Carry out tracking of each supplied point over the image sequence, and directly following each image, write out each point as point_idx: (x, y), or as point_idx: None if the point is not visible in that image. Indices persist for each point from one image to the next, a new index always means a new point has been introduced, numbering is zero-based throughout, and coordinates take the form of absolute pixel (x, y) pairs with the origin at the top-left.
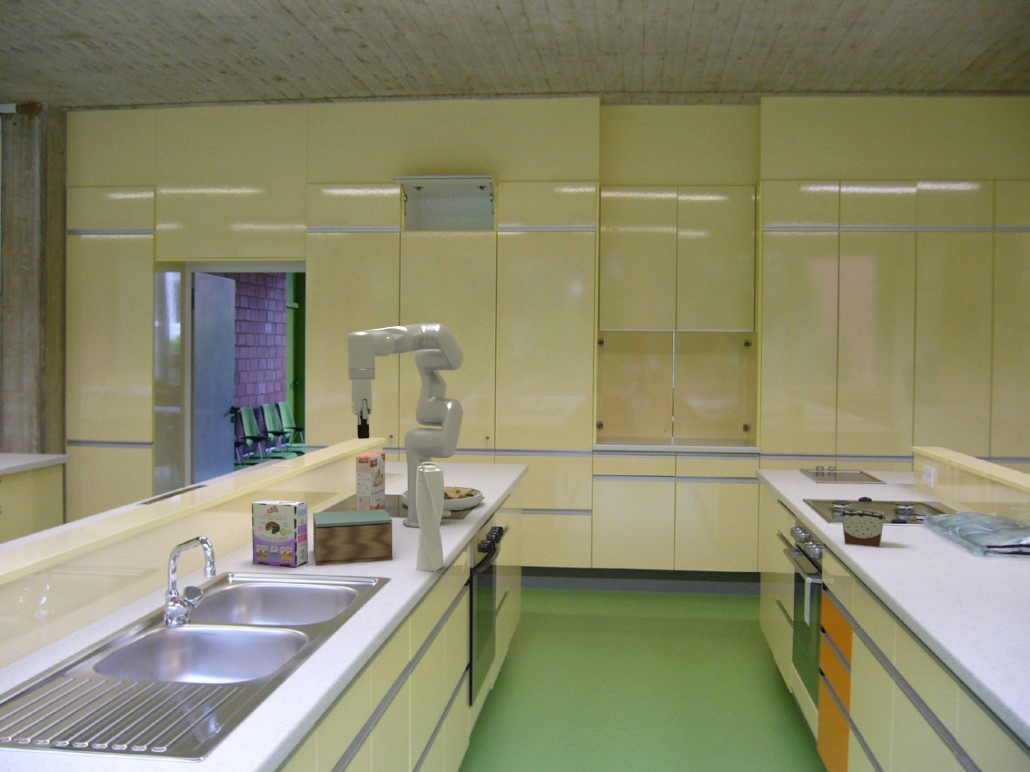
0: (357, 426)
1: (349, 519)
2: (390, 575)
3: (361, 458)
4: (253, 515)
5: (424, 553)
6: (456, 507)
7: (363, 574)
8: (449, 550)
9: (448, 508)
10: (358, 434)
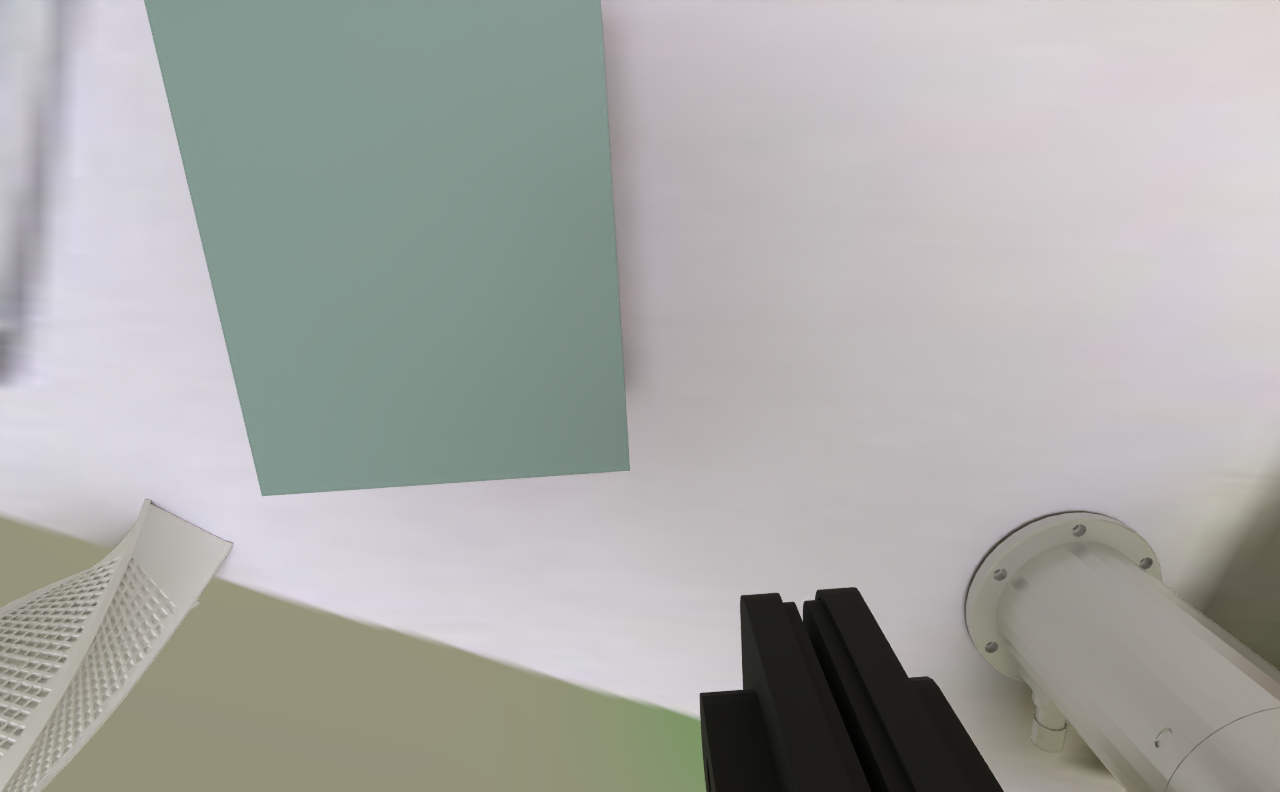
0: (912, 774)
1: (296, 232)
2: (51, 387)
3: None
4: None
5: (93, 567)
6: None
7: (70, 269)
8: (476, 651)
9: None
10: (753, 647)
